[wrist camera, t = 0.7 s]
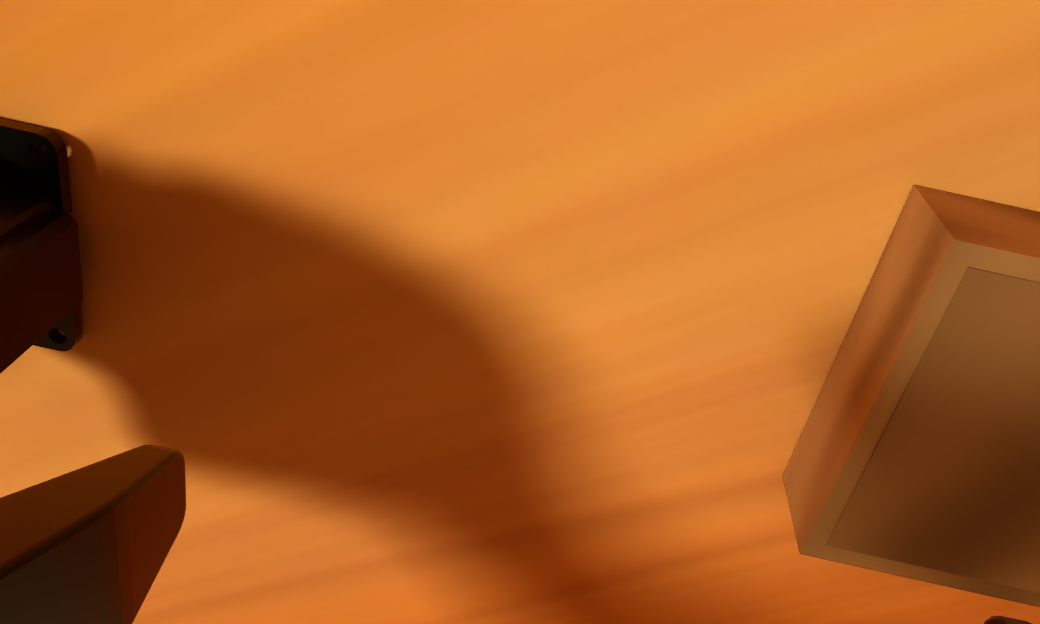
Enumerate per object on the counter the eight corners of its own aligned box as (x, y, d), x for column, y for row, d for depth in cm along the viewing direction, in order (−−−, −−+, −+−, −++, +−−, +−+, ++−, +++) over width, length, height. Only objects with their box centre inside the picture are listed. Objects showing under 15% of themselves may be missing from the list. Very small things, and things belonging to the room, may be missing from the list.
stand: (782, 476, 25) (800, 555, 22) (913, 184, 20) (955, 240, 17) (1094, 545, 25) (1149, 632, 22) (1297, 268, 20) (1397, 337, 17)
